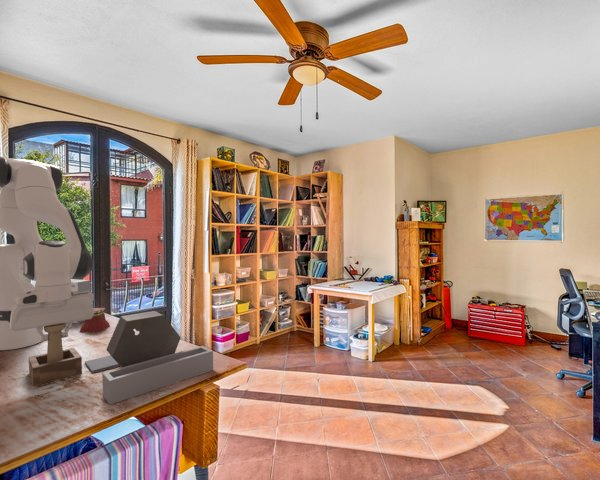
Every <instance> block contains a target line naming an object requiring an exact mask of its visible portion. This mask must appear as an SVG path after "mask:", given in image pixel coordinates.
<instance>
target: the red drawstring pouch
mask: <svg viewBox="0 0 600 480" xmlns="http://www.w3.org/2000/svg"><path fill="white" fill-rule="evenodd" d="M105 310H106V307H93V311H94V316H93V317H92V318H91V319H87V320H85V321H83V322H84V324H83V325H82V326H81V327H80V330H79V333H100V332H102V331H104V330H107V329H109V328H110V327H111V325H110V322H108V320H107V319H106V316H105Z"/></svg>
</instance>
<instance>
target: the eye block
mask: <svg viewBox="0 0 600 480" xmlns="http://www.w3.org/2000/svg"><path fill="white" fill-rule="evenodd" d="M82 359H83V357H82V355H81V354H80V353H79V352H78V351H77V350H76V348H75V347H72V348H71V347H70V348H67V349H63V360H60V361H55V362H51V363H48V362H47V352H46V353H43V354H37V355H33V356H28V374H29V378H30V380H31V383H32V386H33V387H34V386H38V385H42V384H46V383H49V382H53V381H57V380H61V379H65V378H68V377H74V376H77V375H81V374H83V363H82V362H83V361H82Z"/></svg>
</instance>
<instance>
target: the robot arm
mask: <svg viewBox="0 0 600 480" xmlns="http://www.w3.org/2000/svg"><path fill="white" fill-rule="evenodd" d="M62 171H63V170H61V169H60V167H59V166H56V165H53V164H50V163H43V162H40V161H35V160H30V159H20V158H10V157H9V158H8V157H4V156H0V188H1V190H0V230H1V231H2V232H4V233H6V234H8V235H11V236H13V238H14V242H15V243H2V244H0V351H9V350H10V351H11V350H17V349H22V348H26V347H30V346H33V345H36V344H38V343H41V342H42V343H43V342H48V333H44V326H50V325H56V324H63V323H65V328H64V329H63V330H62V331H61V336H62V339H64V338H68V337H69V331H70V330H71V328H72V326H73V323H72V322H75V321H81V320H87V319H91V318H92V317H93V316H94V311H93V308H94V305H93V302H94V299H95V295H94V293H93V292H92V291H91V292H90V291H88V290H85V291H75V292H72V285H71V279H78V280H84V279H85V278H86V277H87V276H89V275H90V274H91V273H92V272H93V270H94V260H93V259H94V258H93V256H92V255H91V252H90V250H89V249H88V247H87V245H86V243H85V240H84V238H83V236H82V232H81V229H80V228H79V226H78V223H77V221H76V218H75V216H74V214H73V211H71V209H70V208H68V207H66V206H65V205H64V204H63V203H62V202H61V201H60V199H59V198H58V194H57V191H58V190H60V189H61V187H62V185H63V182H64V176H63V172H62ZM38 222H41V223H44V224H46V225H50V226H53V227H56V228H57V229H59V230H60V231H61V232H63V235H64V237H65V240H66V242H65V241H62V240H58V239H57V240H55V239H49V240H48V239H47V240H43V238H42V236H41V235H40V232H39V230H38ZM21 272H23V276H24V277H26V278H27V279H29V280H31V281H35V283H34V284H33V283H31V282H28V281H26V280H23V279H22V278H21V277H20V273H21Z"/></svg>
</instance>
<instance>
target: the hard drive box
mask: <svg viewBox="0 0 600 480" xmlns="http://www.w3.org/2000/svg"><path fill="white" fill-rule="evenodd" d="M70 279H71V278H70ZM71 285H72V292H75V291H85V290H88V291H90V292H92V289H91V288H92V287H91V280H90V279H71ZM83 322H85V320H81V321H75V322H72V324H73V323H74V324H81V323H83Z"/></svg>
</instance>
